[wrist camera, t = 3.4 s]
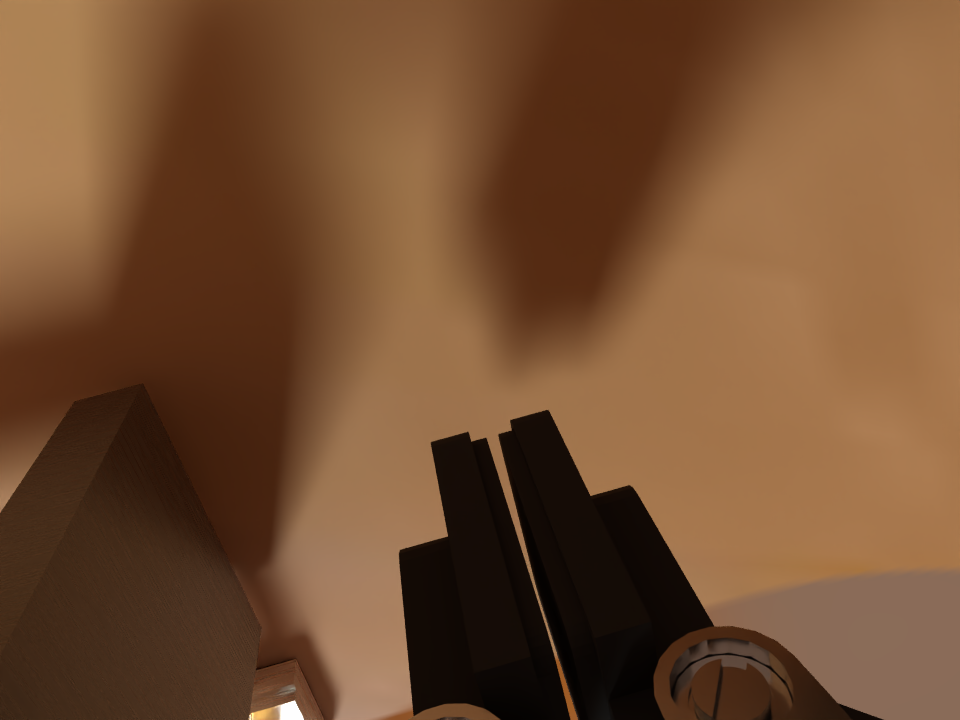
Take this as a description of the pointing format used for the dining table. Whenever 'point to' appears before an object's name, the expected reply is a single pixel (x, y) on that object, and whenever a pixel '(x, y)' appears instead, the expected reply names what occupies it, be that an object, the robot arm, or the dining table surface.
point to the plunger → (118, 581)
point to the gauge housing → (282, 694)
